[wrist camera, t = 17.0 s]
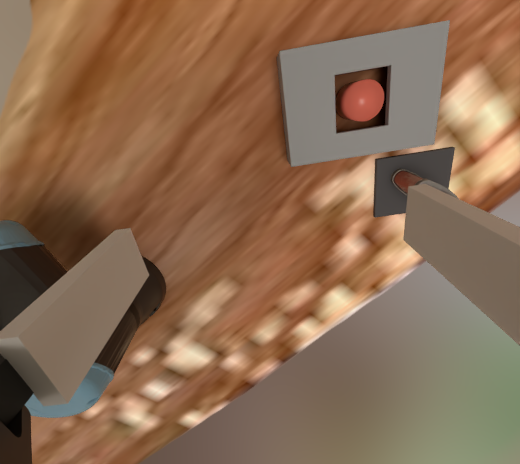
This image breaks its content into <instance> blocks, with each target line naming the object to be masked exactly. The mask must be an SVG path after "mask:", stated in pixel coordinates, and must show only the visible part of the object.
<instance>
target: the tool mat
mask: <svg viewBox="0 0 520 464" xmlns="http://www.w3.org/2000/svg"><path fill="white" fill-rule="evenodd" d="M454 149H455V148H454V147H450V148H443V149H437V150H431V151H424V152H418V153H411V154H405V155H399V156H392V157H386V158H379V159H375V188H374V217H381V216H388V215H395V214H402V213H406V207H407V195H405V194H404V193H402V192H401V191H400V190H399V189H397V188H396V187H395V186H394V184H393V183H392V182H391V181H390V177H391V175H392V173H393V172H394V171H395V170H397V169H400V168H401V169H405V170H407V171H410V172H412V173H414V174H416V175H418V176H420V177H421V178H423V179H425V178H426V179H428V180H431V181H433V182H436V183H438V184H440V185H442V186H444V187H445V188H447V189H448V187H449V181H450V175H451V168H452V162H453V156H454Z"/></svg>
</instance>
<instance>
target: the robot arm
mask: <svg viewBox="0 0 520 464" xmlns="http://www.w3.org/2000/svg"><path fill="white" fill-rule="evenodd" d="M404 241H405V242H406V243H408V244H409V245H410V246H411V247H412V248H413V249H414V250H415V251H416V252H417V253H419V254H420V255H421V256H422V257H423V258H424V259H425V260H426V261H427V262H428V263H430V264H431V265H432V266H433V267H434V268H435V269H436V270H437V271H438V272H440V273H441V274H442V275H443V276H444V277H445V278H446V279H447V280H448V281H449V282H451V283H452V284H453V285H454V286H455V287H456V288H457V289H458V290H459V291H460V292H462V293H463V294H464V295H465V296H466V297H467V298H468V299H469V300H470V301H471V302H472V303H474V304H475V305H476V306H477V307H478V308H479V309H480V310H481V311H482V312H484V313H485V314H486V315H487V316H488V317H489V318H490V319H491V320H492V321H493V322H495V323H496V324H497V325H498V326H499V327H500V328H501V329H502V330H503V331H504V332H505V333H507V334H508V335H509V336H510V337H511V338H512V339H513V340H514V341H515V342H516V343H518V344H519V345H520V227H518V226H516V225H514V224H511V223H509V222H507V221H505V220H503V219H501V218H499V217H496V216H494V215H492V214H490V213H488V212H486V211H483V210H481V209H479V208H477V207H475V206H472V205H470V204H468V203H466V202H464V201H462V200H459V199H457V198H455V197H453V196H451V195H449V194H446V193H444V192H442V191H440V190H438V189H436V188H433V187H431V186H429V185H427V184H422V185H415V186H408V196H407V207H406V218H405V229H404ZM44 245H45V244H44V243H43V242H40V241H38V240H37V239H36V238H35V237H34V236H33V235H32V234H31V233H30V232H29V231H28V230H27V229H26V228H25V227H24V226H23V225H21V224H20V223H18V222H15V221H10V220H2V221H0V464H32V450H31V416H37V417H47V418H58V417H67V416H72V415H76V414H79V413H82V412H84V411H86V410H88V409H89V408H90V407H92V406H93V405H94V404H95V403H96V402H97V401H98V400H99V398H100V397H101V395H102V394H103V392H104V390H105V389H106V387H107V386H108V384H109V383H110V382H111V381H112V379H113V376H114V373H115V371H116V369H117V367H118V365H119V363H120V361H121V359H122V358H123V356H124V354H125V352H126V350H127V348H128V346H129V344H130V342H131V340H132V338H133V337H134V335H135V333H136V331H137V329H138V327H139V326H140V325H141V324H143V323H144V322H145V321H146V320H147V319H148V318H149V317H150V316H151V315H153V314H154V313H155V312H156V311H157V310H158V308H159V307H160V305H161V303H162V301H163V299H164V297H165V293H166V285H165V281H164V278H163V276H162V274H161V273H160V271H159V270H158V269H157V268H156V267H155V266H154V265H153V264H152V263H151V262H150V261H148V260H147V259H145V258H143V257H142V256H141V253H140V251H139V248H138V246H137V243H136V241H135V239H134V236H133V234H132V231H131V229H130V228H127V229H120V230H115V231H114V232H112V233H111V234H110V235H109V236H108V237H107V238H106V239H104V240H103V241H102V242H101V243H100V244H99V245H98V246H97V247H95V248H94V249H93V250H92V251H91V252H90V253H89V254H87V255H86V256H85V257H84V258H83V259H82V260H81V261H79V262H78V263H77V264H76V265H75V266H74V267H73V268H72V269H70V270H69V271H68V272H67V271H66V270H65V269H64V268H63V267H62V266H61V264H60V263H59V262H58V261H57V260H56V259H55V258H54V257H53V255H52V254H51V253H50V252H49V251H48V250H47V249H46V248H45V247H44Z"/></svg>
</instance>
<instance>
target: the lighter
mask: <svg viewBox="0 0 520 464" xmlns="http://www.w3.org/2000/svg"><path fill="white" fill-rule="evenodd" d="M390 181H391V182H392V183H393V184H394V186H395V187H396V188H397V189H399V190H400V191H401V192H402V193H404V194H405V195H407V196H408V186H415V185H422V184H427V185H429V186H431V187H433V188H436V189H438V190H440V191H442V192H444V193H446V194H449V195H451V196H453V197H455V198H457V196H456V195H455V194H453V193H452V192H451V191H450V190H449V189H447V188H445V187H444V186H442V185H440V184H438V183H436V182H433V181H431V180H428V179H426V178H425V179H423V178H421V177H420V176H418V175H416V174H414V173H412V172H410V171H407V170H405V169H401V168H400V169H397V170H395V171H394V172H393V173H392V175H391V177H390ZM457 199H458V198H457Z"/></svg>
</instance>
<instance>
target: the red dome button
mask: <svg viewBox="0 0 520 464" xmlns="http://www.w3.org/2000/svg"><path fill="white" fill-rule="evenodd" d="M383 103H384V91H383V88H382V87H381V85H380V84H379V83H378V82H377V81H375V80H371V79H365V80H361V81H357V82H353V83H349V84H347V85H345V86H344V87H343V88H342V89H341V90H340V91H339V93H338V95H337V97H336V102H335V106H336V110H337V112H338V114H339V115H340V116H341V117H342V118H344V119H348V120H354V121H368V120H370V119H372V118H373V117H375V116H376V115H377V114H378V113H379V111H380V110H381V108H382V106H383Z"/></svg>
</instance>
